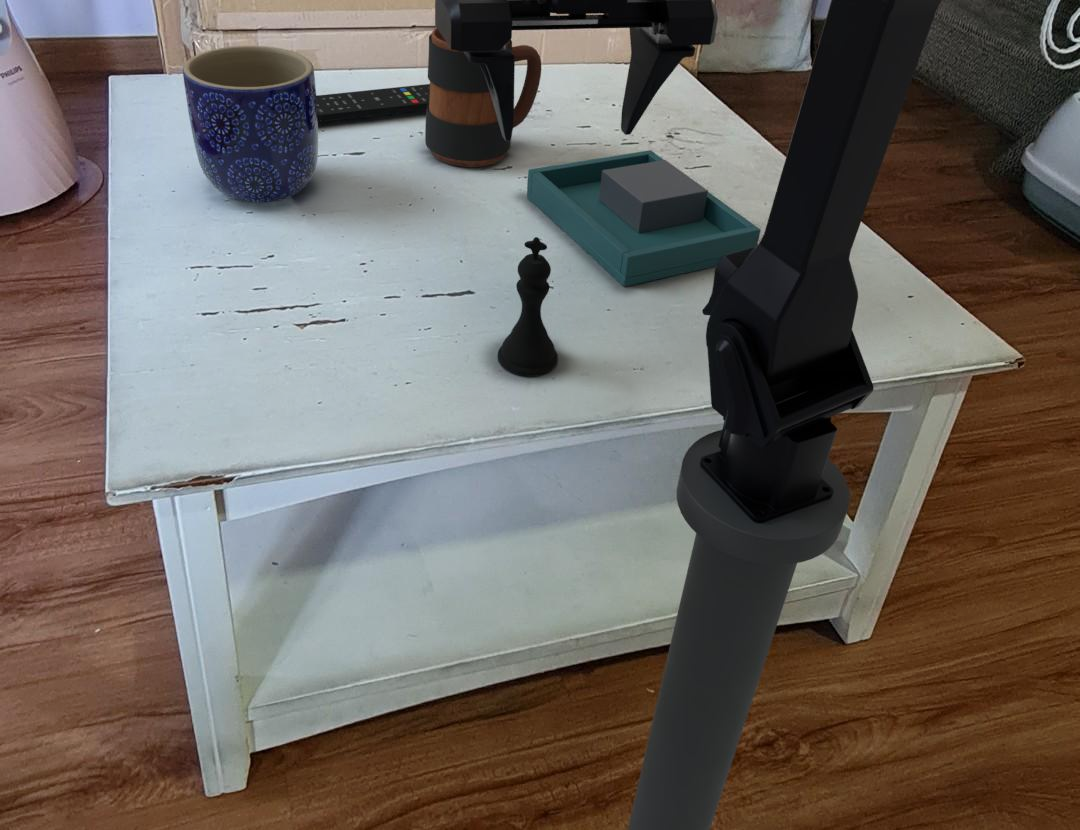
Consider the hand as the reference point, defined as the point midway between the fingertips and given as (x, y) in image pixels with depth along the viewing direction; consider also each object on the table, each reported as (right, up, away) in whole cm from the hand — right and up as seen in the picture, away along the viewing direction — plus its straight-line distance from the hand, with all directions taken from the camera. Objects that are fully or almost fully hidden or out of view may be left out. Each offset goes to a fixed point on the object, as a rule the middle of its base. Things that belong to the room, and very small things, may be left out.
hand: (566, 135), depth 73 cm
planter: (-28, 0, +19) cm, 33 cm away
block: (+8, -2, +19) cm, 20 cm away
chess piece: (-3, -17, 0) cm, 17 cm away
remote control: (-22, +12, +34) cm, 42 cm away
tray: (+7, -3, +18) cm, 19 cm away
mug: (-8, +6, +29) cm, 31 cm away
